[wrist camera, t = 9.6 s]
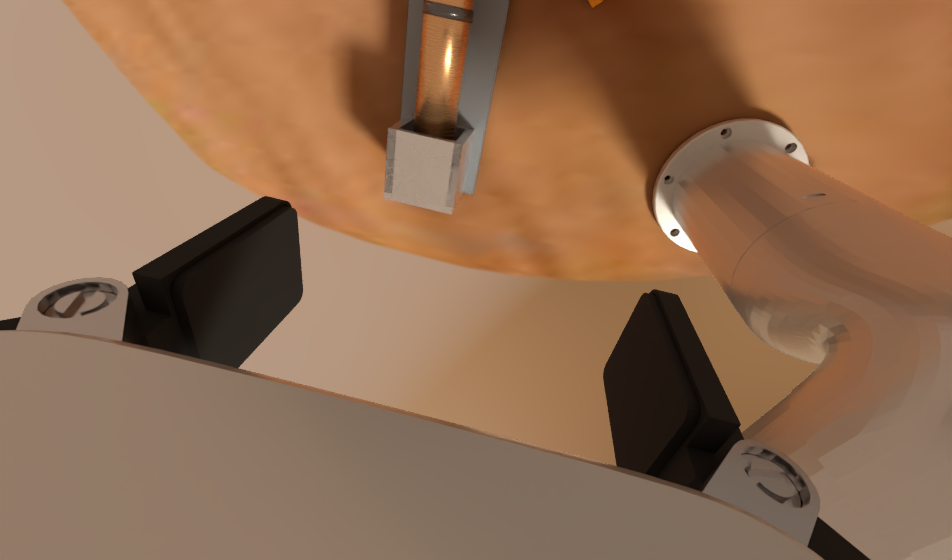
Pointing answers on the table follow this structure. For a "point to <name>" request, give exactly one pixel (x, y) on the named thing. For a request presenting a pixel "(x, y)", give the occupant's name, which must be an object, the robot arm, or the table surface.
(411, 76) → the board
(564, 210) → the table surface
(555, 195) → the table surface
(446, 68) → the tube
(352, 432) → the robot arm
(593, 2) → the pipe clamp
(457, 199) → the sleeve
